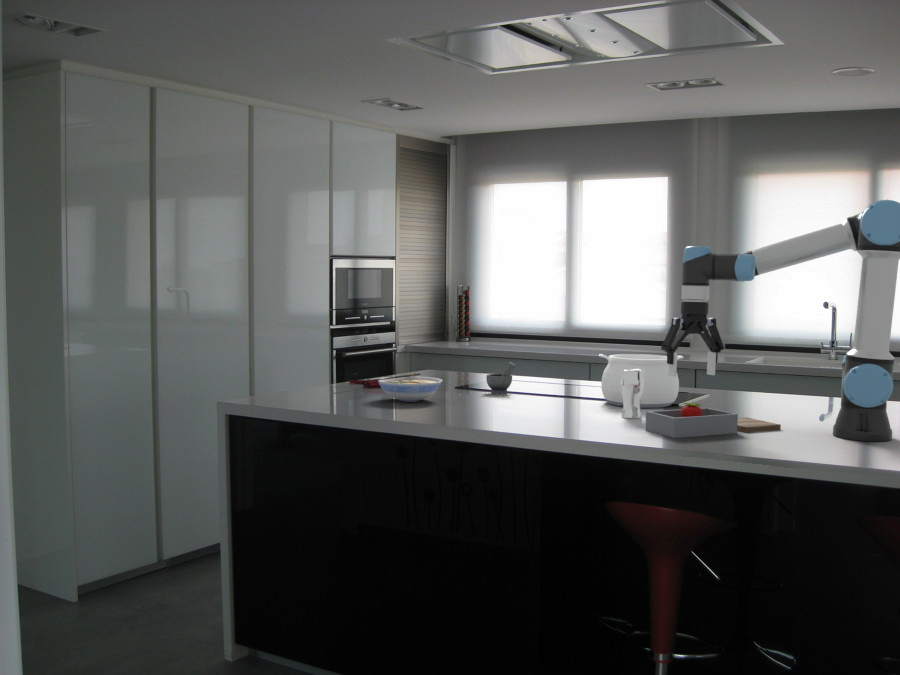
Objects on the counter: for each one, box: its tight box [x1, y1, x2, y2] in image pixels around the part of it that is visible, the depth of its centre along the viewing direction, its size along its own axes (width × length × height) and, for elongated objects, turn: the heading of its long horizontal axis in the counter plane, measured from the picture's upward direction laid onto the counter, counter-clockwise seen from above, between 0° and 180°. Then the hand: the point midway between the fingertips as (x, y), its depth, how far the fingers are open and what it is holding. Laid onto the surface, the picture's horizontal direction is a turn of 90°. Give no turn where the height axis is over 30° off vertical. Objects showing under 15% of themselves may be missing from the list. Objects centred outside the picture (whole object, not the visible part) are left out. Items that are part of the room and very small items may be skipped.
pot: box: [598, 353, 684, 409], centre depth 308 cm, size 29×26×17 cm
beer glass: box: [621, 369, 643, 420], centre depth 279 cm, size 7×7×15 cm
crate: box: [645, 407, 739, 439], centre depth 254 cm, size 13×22×6 cm, turn 113°
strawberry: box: [681, 402, 702, 417], centre depth 253 cm, size 6×8×10 cm
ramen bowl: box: [371, 372, 443, 403], centre depth 310 cm, size 25×23×8 cm
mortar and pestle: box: [485, 361, 516, 395], centre depth 332 cm, size 11×9×12 cm
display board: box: [737, 417, 782, 433], centre depth 263 cm, size 14×13×2 cm
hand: (691, 375), depth 253 cm, fingers open, 13 cm apart
